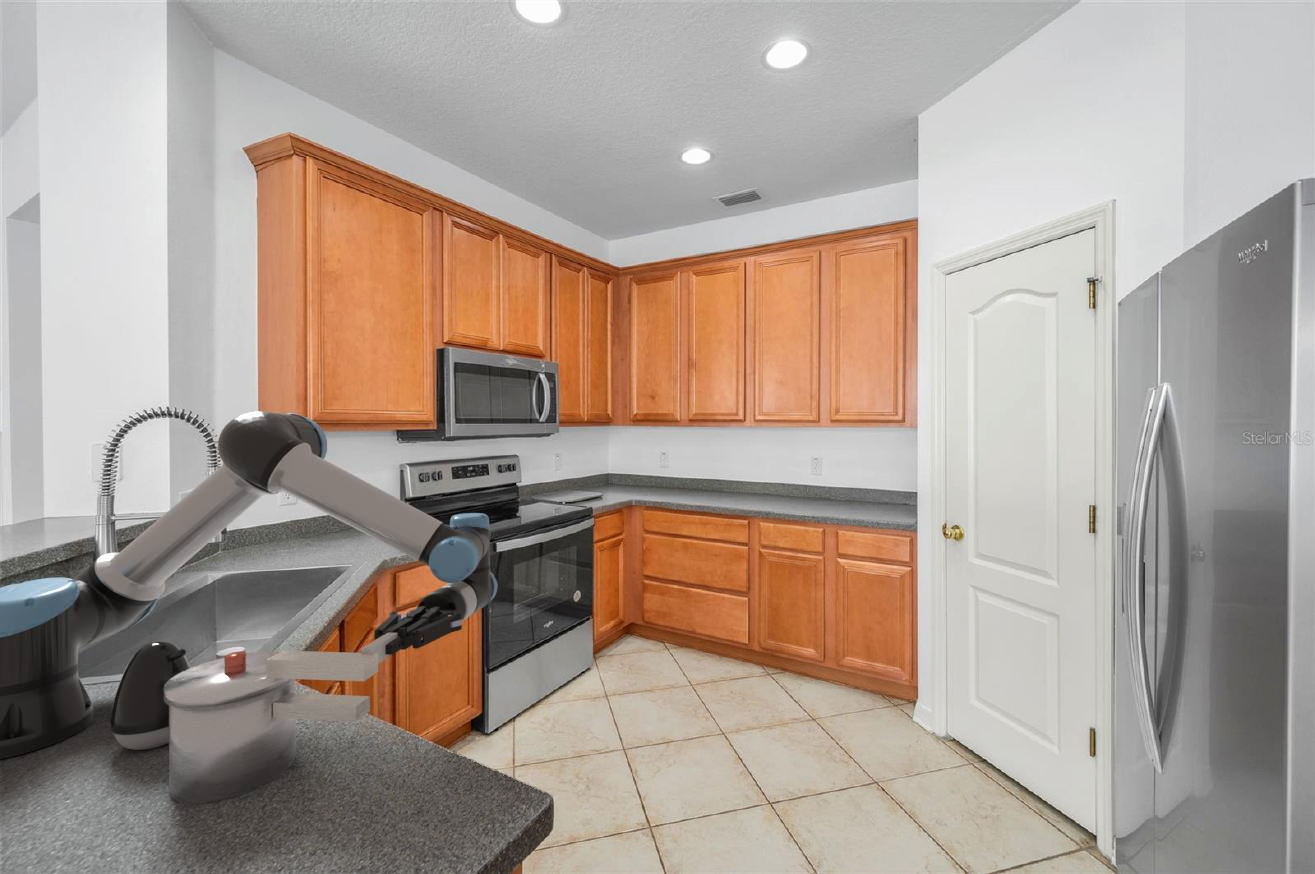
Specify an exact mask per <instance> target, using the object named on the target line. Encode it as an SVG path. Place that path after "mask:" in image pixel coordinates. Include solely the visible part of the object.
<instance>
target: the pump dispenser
mask: <svg viewBox="0 0 1315 874" xmlns="http://www.w3.org/2000/svg"><path fill="white" fill-rule="evenodd" d="M186 654H187V650H186V648H185V649H184V648H181V649H180V647H178V646H177V645H176V644H175V643H173V642H171V641H167V640H157V641H152V642H150V643H147V644H144V645H143V646H141V647H140V648H139V649H138V650H137V651H136V652H135V653H134V655H133V656H132V657H131V659H130V660H129V662H128V664H127V665H126V667H125V669H124V671H123V673H122V676H121V679H120V681H119V684H118V687H117V689H116V693H115V695H114V699H113V702H112V703H113V704H112V708H111V713H110V720H109V730H110V732H111V733H112V734H113V736H114V739H115V740H116V742H117V743H118V744H119V746H121V747H124V748H125V749H129V750H134V751H143V750H144V751H145V750H151V749H155V748H158V747H159V748H160V747H162V746H165V745H168V744H169V705H167V704H166V703H165V702H164V685H165V684H166V682H167V681H168V680H170V679H171V678H172V677H174V676H176V675H177V674H179V673H181V672H183V671H185V670H188V669H190V668H191V666H190V663H189V661H188V659H187V657H186Z"/></svg>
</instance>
